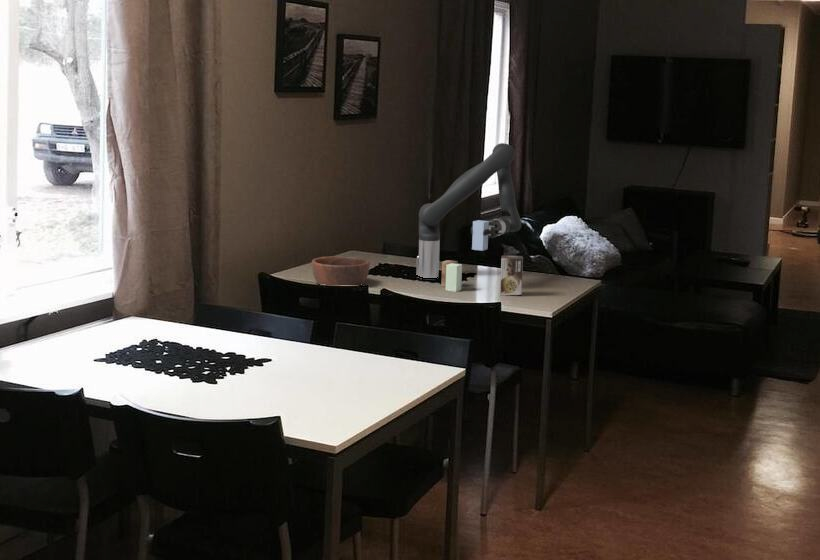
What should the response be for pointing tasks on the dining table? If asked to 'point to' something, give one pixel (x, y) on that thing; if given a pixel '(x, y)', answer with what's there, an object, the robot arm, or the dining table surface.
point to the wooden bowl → (340, 270)
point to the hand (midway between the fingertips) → (477, 232)
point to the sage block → (453, 277)
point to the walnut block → (444, 263)
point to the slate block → (480, 235)
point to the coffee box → (511, 274)
